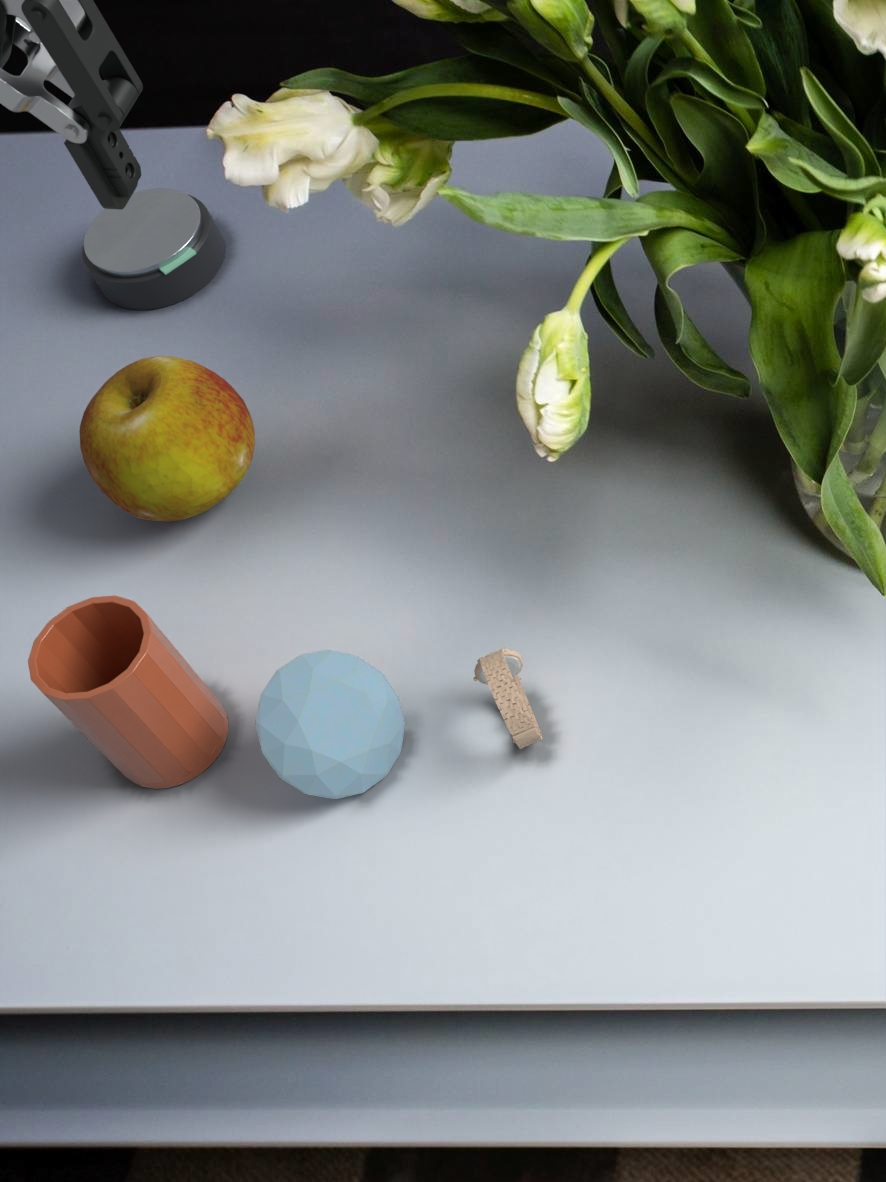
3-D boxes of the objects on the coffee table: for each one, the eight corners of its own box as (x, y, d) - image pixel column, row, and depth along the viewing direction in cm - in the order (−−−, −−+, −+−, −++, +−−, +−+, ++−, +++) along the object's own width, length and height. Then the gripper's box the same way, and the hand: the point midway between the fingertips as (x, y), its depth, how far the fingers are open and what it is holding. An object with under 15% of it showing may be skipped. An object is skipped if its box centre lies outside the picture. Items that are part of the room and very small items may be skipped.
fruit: (161, 416, 99) (97, 322, 92) (298, 425, 98) (242, 330, 91) (98, 542, 94) (25, 453, 88) (240, 554, 93) (177, 464, 86)
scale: (143, 329, 104) (121, 295, 101) (76, 271, 107) (53, 237, 105) (250, 255, 106) (231, 220, 104) (181, 201, 110) (161, 166, 107)
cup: (156, 810, 84) (68, 721, 77) (96, 744, 87) (5, 652, 79) (250, 734, 86) (173, 640, 78) (189, 672, 89) (109, 575, 81)
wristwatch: (534, 681, 86) (507, 628, 82) (562, 751, 83) (536, 700, 79) (486, 701, 86) (457, 649, 81) (513, 772, 83) (485, 722, 79)
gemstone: (199, 734, 82) (228, 720, 78) (303, 633, 86) (335, 615, 82) (309, 837, 85) (342, 828, 81) (406, 734, 89) (442, 721, 85)
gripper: (29, -228, 58) (216, 142, 72) (-313, -228, 61) (-70, 130, 74) (-68, -107, 54) (149, 261, 68) (-430, -112, 57) (-151, 244, 70)
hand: (34, 192), depth 71 cm, fingers open, 8 cm apart
